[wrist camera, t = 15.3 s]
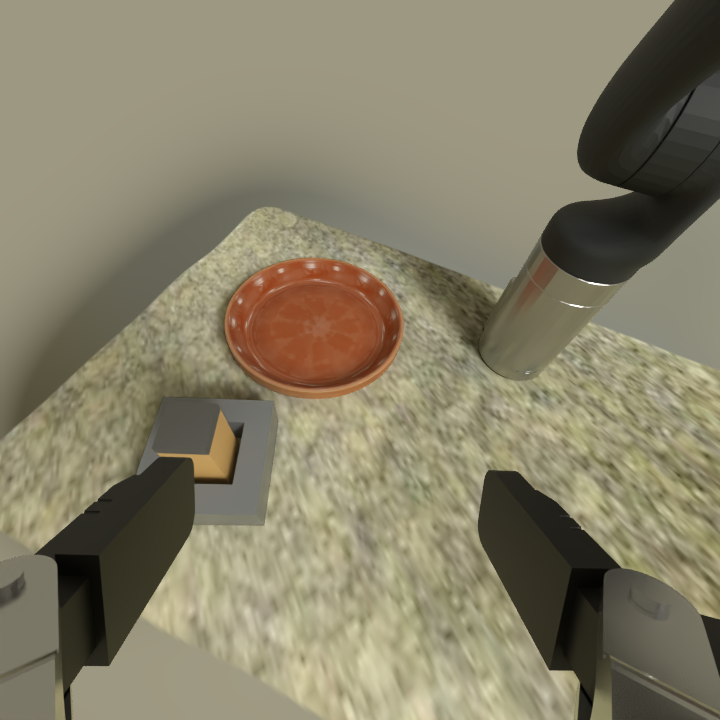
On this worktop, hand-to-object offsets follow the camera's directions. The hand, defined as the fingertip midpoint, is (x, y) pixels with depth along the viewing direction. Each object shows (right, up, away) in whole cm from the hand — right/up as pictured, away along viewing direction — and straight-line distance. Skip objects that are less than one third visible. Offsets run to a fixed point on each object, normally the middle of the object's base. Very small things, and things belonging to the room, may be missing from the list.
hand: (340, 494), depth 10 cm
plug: (-14, -7, +27) cm, 31 cm away
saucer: (-5, +7, +39) cm, 40 cm away
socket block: (-14, -8, +28) cm, 32 cm away
